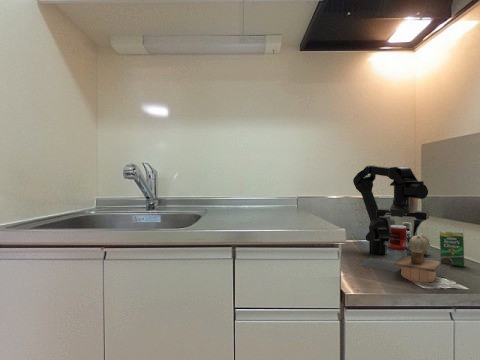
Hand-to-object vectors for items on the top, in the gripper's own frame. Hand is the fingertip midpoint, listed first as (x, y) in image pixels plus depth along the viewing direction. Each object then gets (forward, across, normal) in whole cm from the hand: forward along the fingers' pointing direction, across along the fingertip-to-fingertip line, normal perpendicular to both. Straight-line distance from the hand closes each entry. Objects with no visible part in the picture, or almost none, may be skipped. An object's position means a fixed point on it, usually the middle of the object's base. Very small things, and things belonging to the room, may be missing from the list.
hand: (401, 234), depth 123 cm
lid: (+7, +9, -17) cm, 20 cm away
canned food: (+12, -8, +27) cm, 31 cm away
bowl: (+12, +9, -17) cm, 22 cm away
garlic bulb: (+12, +3, +19) cm, 23 cm away
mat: (+12, -5, -9) cm, 16 cm away
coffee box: (+12, +16, +10) cm, 22 cm away
